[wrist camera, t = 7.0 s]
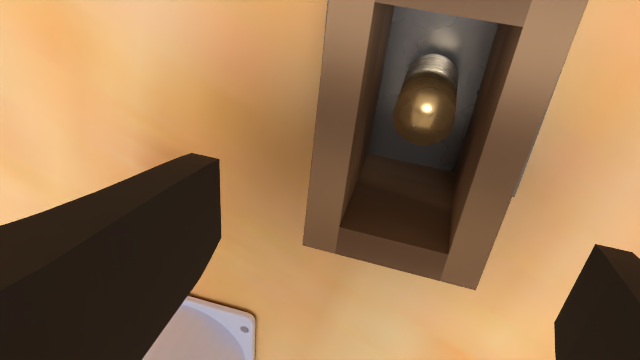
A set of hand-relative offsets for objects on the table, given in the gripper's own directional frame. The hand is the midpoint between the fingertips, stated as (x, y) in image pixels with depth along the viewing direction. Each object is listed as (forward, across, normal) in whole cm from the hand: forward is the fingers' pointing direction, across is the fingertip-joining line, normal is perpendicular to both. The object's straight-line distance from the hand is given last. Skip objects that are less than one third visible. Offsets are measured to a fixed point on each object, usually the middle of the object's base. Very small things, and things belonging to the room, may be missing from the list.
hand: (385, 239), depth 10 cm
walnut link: (+9, 0, 0) cm, 9 cm away
